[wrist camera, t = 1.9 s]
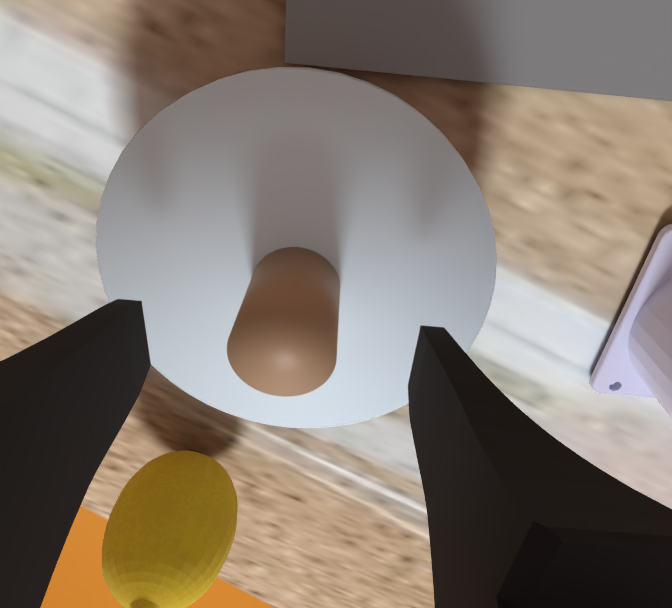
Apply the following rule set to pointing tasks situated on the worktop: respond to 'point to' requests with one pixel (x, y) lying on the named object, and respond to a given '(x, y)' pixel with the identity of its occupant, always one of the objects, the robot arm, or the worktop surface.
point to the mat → (493, 41)
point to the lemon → (169, 532)
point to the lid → (295, 244)
